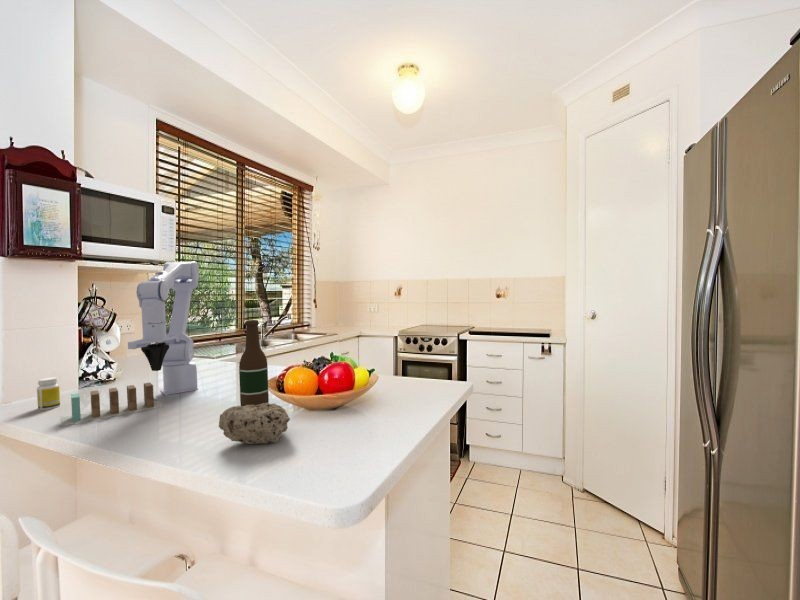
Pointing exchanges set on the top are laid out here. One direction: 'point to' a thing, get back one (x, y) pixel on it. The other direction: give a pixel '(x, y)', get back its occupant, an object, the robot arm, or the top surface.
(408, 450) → the top surface
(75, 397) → the tile
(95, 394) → the tile
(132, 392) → the tile
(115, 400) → the tile
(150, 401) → the tile
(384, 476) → the top surface
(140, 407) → the runner mat
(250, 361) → the beer bottle
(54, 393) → the supplement bottle
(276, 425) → the pumice stone
